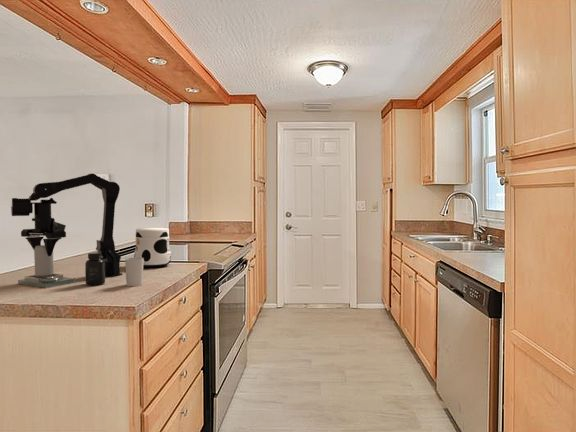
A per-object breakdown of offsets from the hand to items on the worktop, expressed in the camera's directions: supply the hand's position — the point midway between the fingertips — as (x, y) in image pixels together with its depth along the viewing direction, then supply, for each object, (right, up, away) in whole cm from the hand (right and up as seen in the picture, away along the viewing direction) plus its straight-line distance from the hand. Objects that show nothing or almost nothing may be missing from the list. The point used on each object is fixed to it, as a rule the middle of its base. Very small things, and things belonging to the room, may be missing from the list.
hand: (43, 255), depth 167 cm
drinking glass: (+37, -11, -3) cm, 38 cm away
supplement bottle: (+21, -11, -3) cm, 24 cm away
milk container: (+30, -9, +41) cm, 51 cm away
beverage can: (0, -8, 0) cm, 8 cm away
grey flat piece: (+2, -11, -2) cm, 11 cm away
